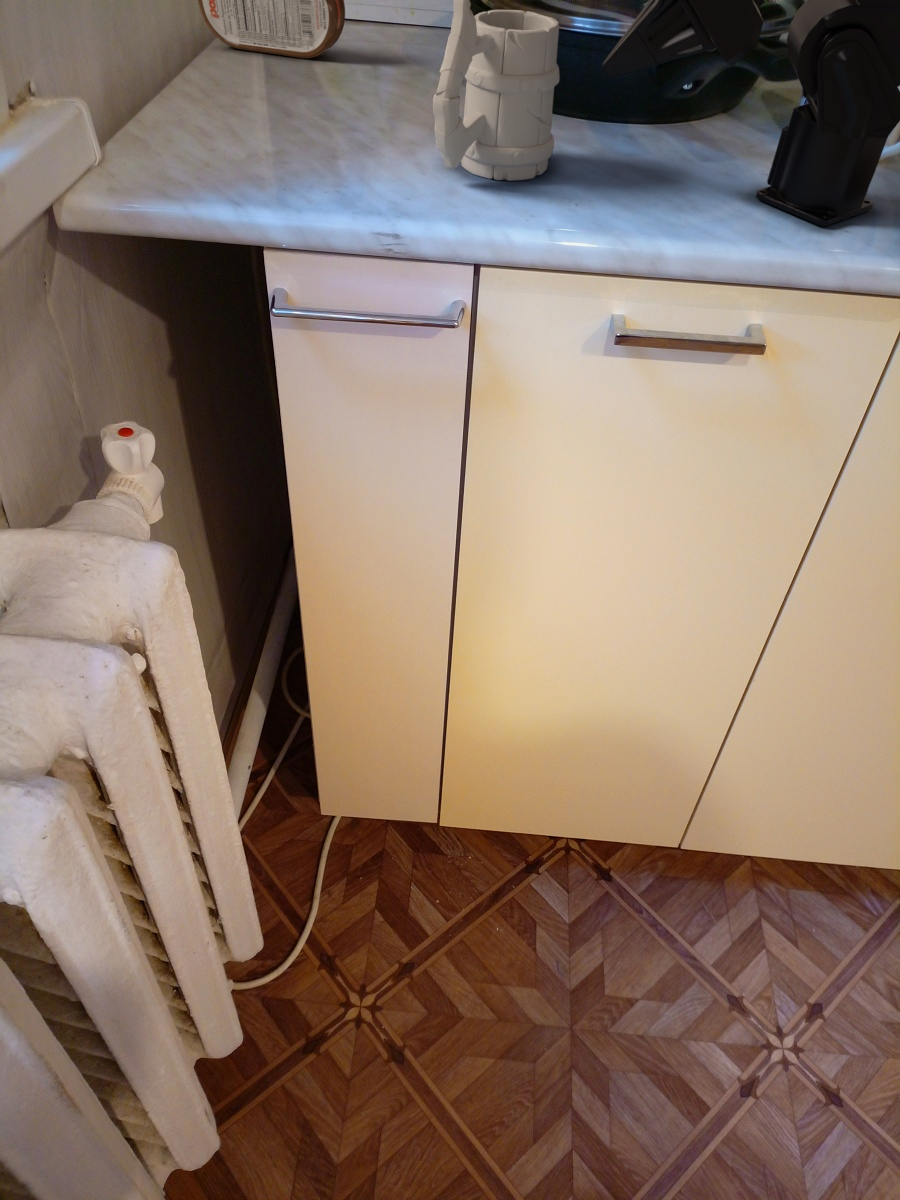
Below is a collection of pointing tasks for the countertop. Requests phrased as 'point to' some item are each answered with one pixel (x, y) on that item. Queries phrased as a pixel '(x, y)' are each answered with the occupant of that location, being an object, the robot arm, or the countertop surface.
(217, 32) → the tin
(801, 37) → the robot arm
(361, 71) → the countertop surface
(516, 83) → the mug
